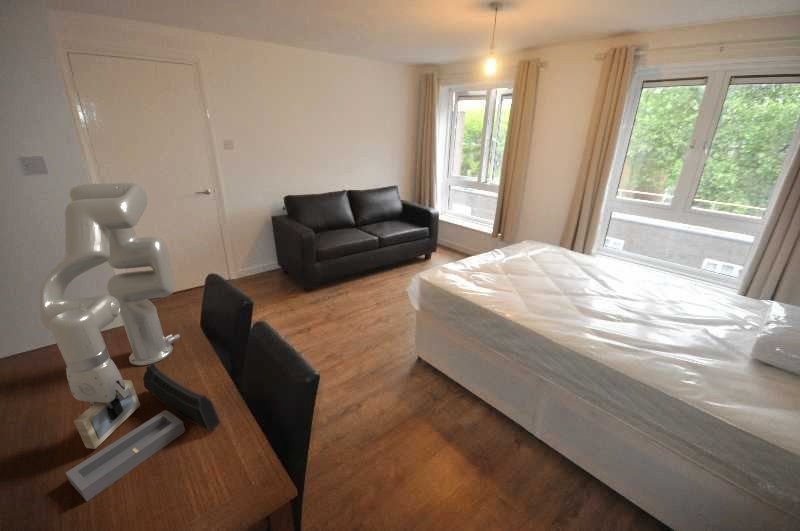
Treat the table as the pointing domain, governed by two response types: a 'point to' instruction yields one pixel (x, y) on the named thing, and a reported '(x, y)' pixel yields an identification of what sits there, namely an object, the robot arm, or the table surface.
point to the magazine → (181, 399)
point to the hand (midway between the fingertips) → (111, 414)
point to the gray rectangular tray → (124, 454)
